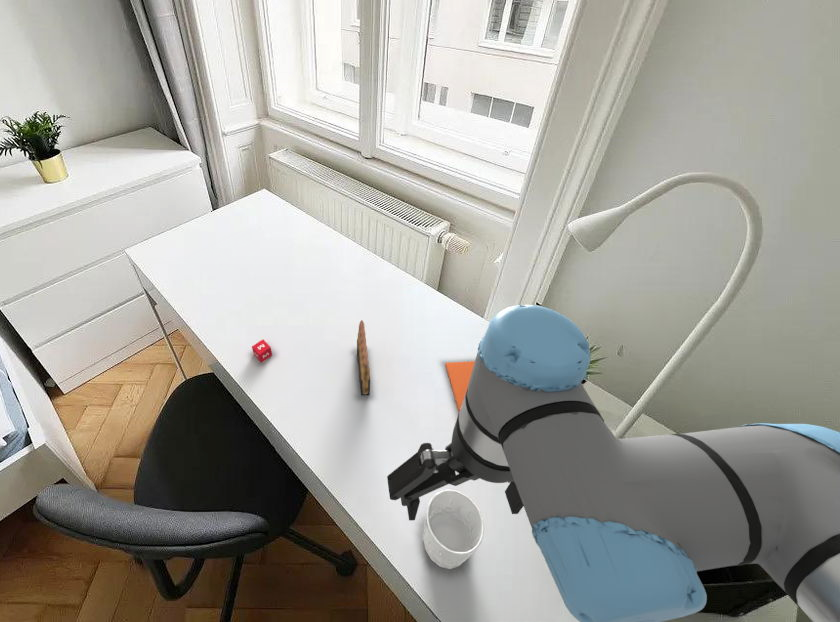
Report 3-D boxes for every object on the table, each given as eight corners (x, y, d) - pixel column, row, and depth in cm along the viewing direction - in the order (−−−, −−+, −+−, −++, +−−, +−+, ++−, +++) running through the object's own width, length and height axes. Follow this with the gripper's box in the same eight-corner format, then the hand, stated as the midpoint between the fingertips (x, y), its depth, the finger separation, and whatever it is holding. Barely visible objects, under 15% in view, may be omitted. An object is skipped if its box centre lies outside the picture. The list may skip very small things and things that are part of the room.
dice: (261, 363, 90) (259, 354, 88) (253, 354, 91) (251, 346, 90) (272, 355, 91) (270, 347, 89) (265, 347, 93) (263, 339, 91)
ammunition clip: (356, 352, 91) (356, 317, 84) (365, 352, 91) (365, 316, 84) (360, 396, 83) (361, 361, 75) (369, 395, 83) (371, 360, 75)
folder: (540, 433, 76) (541, 431, 76) (466, 437, 76) (466, 435, 76) (508, 360, 89) (509, 358, 88) (445, 364, 88) (445, 362, 88)
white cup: (441, 502, 68) (450, 477, 61) (481, 545, 63) (495, 523, 57) (408, 539, 64) (414, 516, 58) (449, 588, 59) (460, 569, 53)
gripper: (598, 388, 44) (541, 470, 57) (368, 401, 43) (365, 480, 57) (641, 461, 38) (566, 532, 52) (376, 476, 38) (370, 545, 51)
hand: (460, 505), depth 54 cm, fingers open, 13 cm apart
